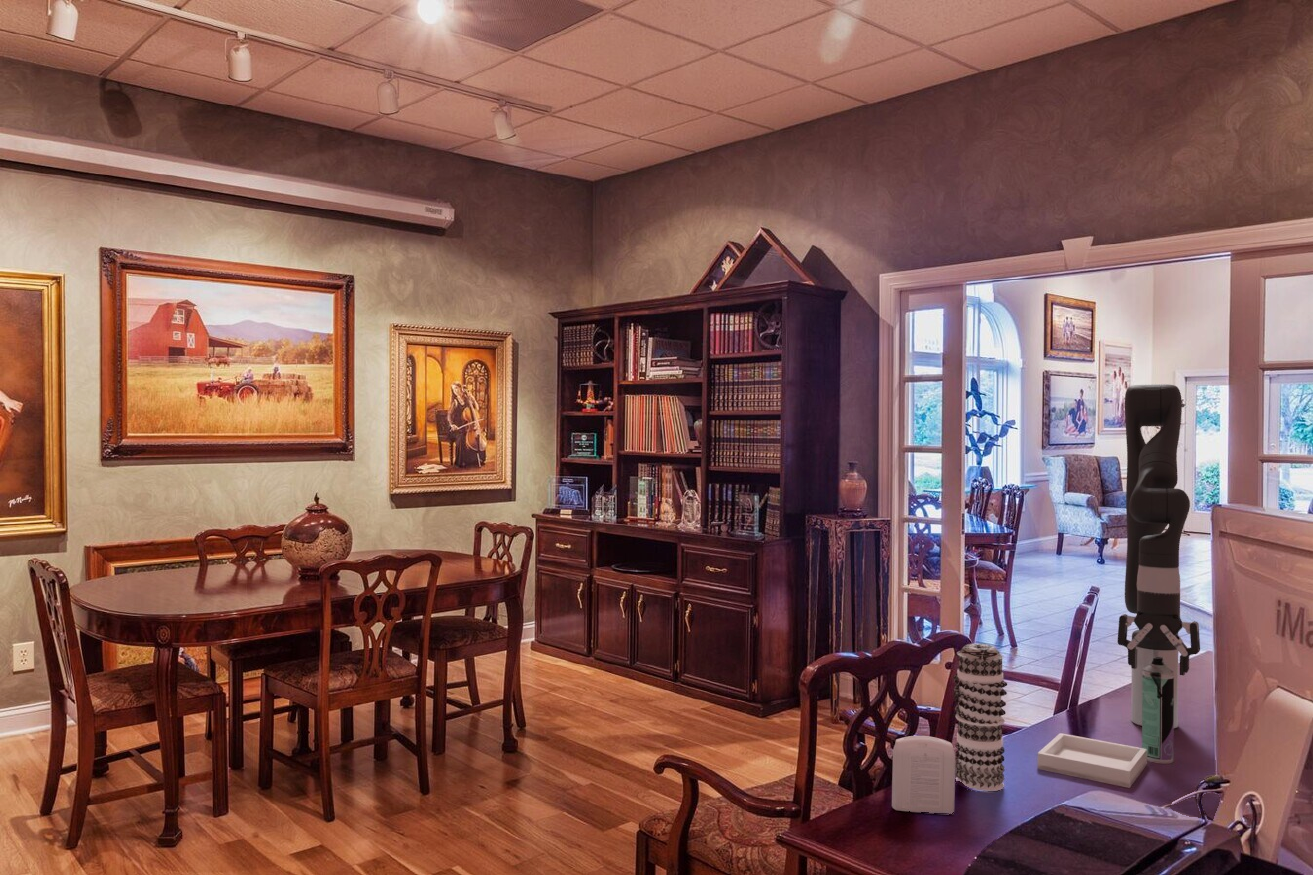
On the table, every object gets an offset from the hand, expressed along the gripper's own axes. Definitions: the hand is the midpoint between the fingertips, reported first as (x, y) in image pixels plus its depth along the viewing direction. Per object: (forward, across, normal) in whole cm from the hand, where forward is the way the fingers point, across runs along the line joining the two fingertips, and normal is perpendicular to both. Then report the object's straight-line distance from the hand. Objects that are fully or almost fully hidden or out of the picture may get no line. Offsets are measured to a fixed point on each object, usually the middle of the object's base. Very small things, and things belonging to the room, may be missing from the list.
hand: (1157, 671), depth 187 cm
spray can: (+18, 0, 0) cm, 18 cm away
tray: (+17, +9, +13) cm, 23 cm away
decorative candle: (+18, +23, +36) cm, 46 cm away
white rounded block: (+18, +26, +54) cm, 63 cm away
